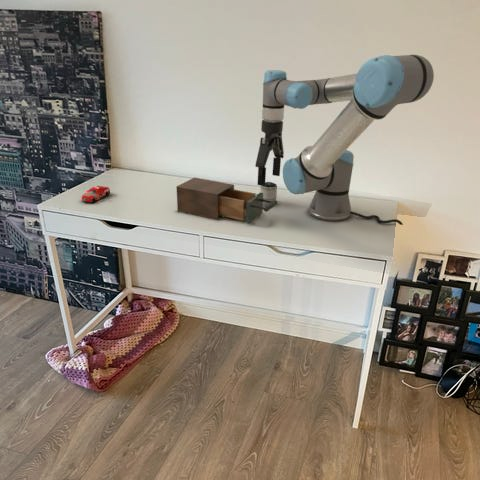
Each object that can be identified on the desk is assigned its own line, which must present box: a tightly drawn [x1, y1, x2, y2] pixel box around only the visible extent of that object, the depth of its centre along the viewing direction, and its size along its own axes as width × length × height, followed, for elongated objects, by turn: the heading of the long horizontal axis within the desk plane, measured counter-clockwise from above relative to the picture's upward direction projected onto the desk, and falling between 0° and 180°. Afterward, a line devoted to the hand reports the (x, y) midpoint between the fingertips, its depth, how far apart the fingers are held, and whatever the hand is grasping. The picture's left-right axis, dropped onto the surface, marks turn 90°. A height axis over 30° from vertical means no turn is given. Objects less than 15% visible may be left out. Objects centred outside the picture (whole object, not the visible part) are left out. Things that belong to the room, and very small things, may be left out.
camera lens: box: [259, 181, 278, 207], centre depth 183 cm, size 6×6×8 cm
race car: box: [81, 185, 111, 204], centre depth 185 cm, size 13×5×4 cm, turn 153°
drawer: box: [219, 188, 278, 224], centre depth 170 cm, size 22×11×7 cm, turn 63°
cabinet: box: [176, 177, 235, 221], centre depth 176 cm, size 17×12×9 cm
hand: (268, 180), depth 181 cm, fingers open, 13 cm apart
